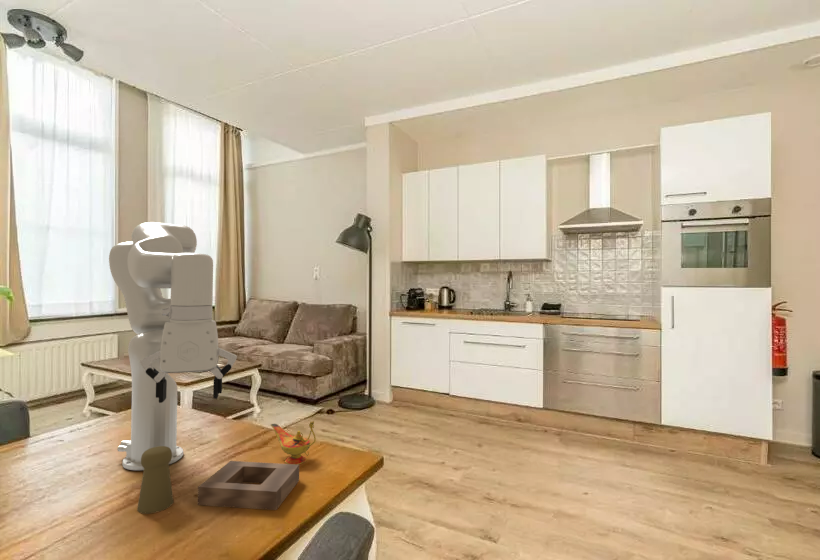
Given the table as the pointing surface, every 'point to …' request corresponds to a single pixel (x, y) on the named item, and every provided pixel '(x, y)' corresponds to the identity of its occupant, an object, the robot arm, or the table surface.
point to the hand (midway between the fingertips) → (189, 398)
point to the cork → (155, 480)
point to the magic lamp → (294, 444)
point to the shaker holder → (249, 485)
